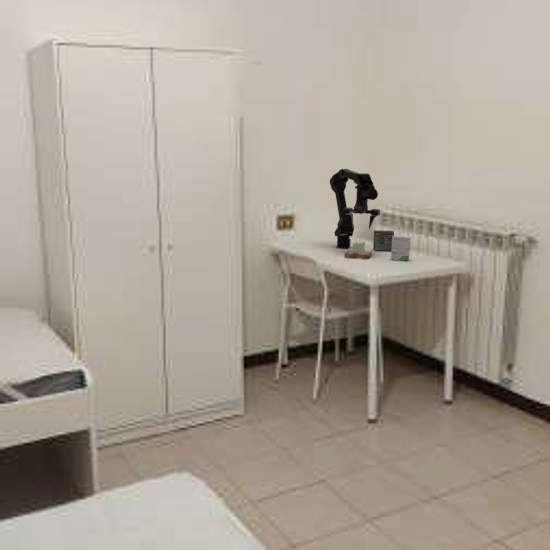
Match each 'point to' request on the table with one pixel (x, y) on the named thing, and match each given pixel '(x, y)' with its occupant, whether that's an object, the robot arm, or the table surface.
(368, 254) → the brown wooden tray
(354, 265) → the table surface
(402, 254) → the ink box
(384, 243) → the small box
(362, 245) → the sage cube
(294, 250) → the table surface
